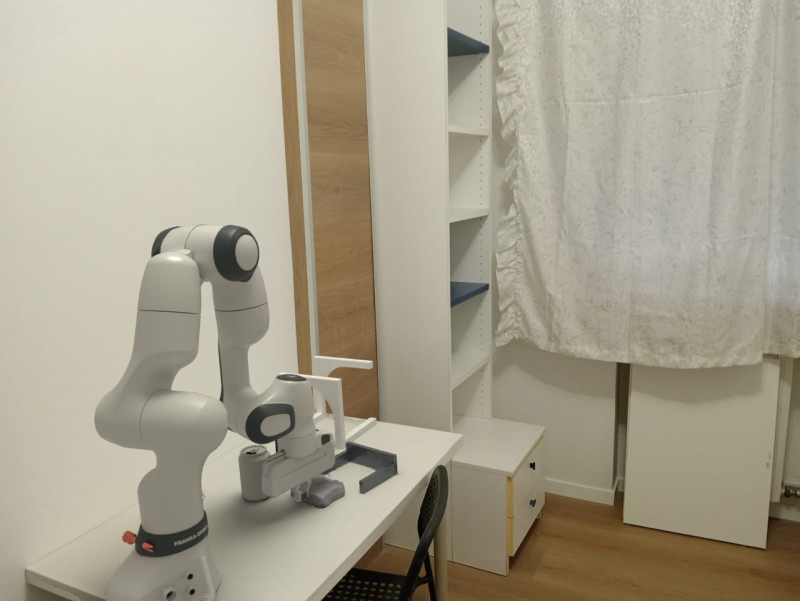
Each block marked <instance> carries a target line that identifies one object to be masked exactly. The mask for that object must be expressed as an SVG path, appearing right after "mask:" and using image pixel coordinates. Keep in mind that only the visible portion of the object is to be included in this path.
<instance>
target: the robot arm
mask: <svg viewBox="0 0 800 601" xmlns="http://www.w3.org/2000/svg"><path fill="white" fill-rule="evenodd" d="M150 255H151V256H150V259H149V260H148V261H147V263H146V265H145V269H144V272H143V275H142V278H141V283H140V288H139V293H138V298H137V299H138V300H137V308H136V319H135V320H136V321H135V328H134V339H133V347H132V350H131V356H130V358H129V362H128V365H127V367H126V369H125V372H124V373H123V375H122V377H121V378H120V380H119V381H118V383H117V384H116V385H115V386H114V387H113V388H112V389H111V390H110V391H108V392H107V393H105V394H104V395H103V396H102V397H101V399H100V401H98V404H97V405H96V408H95V411H94V420H93V421H94V422H93V423H94V426H95V431H96V433H97V434H98V436H99V437H100V438H101V439H103V440H104V441H107V442H109V443H112V444H114V445H116V446H119V447H122V448H127V449H134V450H144V451H151V452H153V453H154V455H155V457H156V459H155V460H156V463H155V467H154V468H153V469H151V470H149V471H148V472H147V473H146V474H145V475H144V476H143V477H142V478H141V480H140V482H139V483H138V486H137V491H136V493H137V499H138V508H139V514H140V515H139V516H140V521H141V523H140V525H139V528H138V532H137V534H136V533H133V532H132V531H131V530H126V531H125V532H123V534H122V537H121V540H122V542H123V543H126V544H128V546H129V545H130V546H131V545H134V548H133V550H132V551H131V552H130V553H129V554H128V556H127V557H126V558H125V559H124V561H123V562H122V563H121V564H120V566H119V567H118V568H117V569H116V571H115V572H114V573H113V574H112V575H111V577H110V578H109V579H108V581H107V584H106V590H105V601H216V600H217V594H216V593H217V591H218V589H219V588H220V584H221V580H222V579H221V578H222V577H221V575H220V573H219V571H218V568H217V567H216V564H215V561H214V558H213V554H212V550H211V547H210V543H209V538H208V536H209V531H210V530H209V522H208V515H207V512H206V509H204V499H203V498H202V490H203V485H202V484H203V483H202V477H203V469H204V465H205V463H206V461H207V459H208V457H210V455H211V454H212V453H213V452H215V451H216V450H217V449H218V448H219V447H220V446H221V445H222V443H223V442H224V440H225V438H226V435H227V434H228V431H230V432H233V433H234V434H235V433H236V434H238V435H239V436H241V437H243V438H245V439H246V440H248V441H250V442H251V443H253V444H255V445H267V444H270V443H273V442H275V440H277V443H278V452H276V451H275V453H274V454H270V456H268V457H267V458H266V460H265V461H264V463H263V465H262V492H263V493H264V494H265V495H267V496H269V497H270V498H272V499H275V498H277V497H279V496H281V495H283V494H285V493H287V492H288V491H291V490H292V492H293V493H294V496H295V497H294V500H295V501H296V502H298V503H300V502H303V501H302V500H304V499H305V498H307V497H309V493H308V490H309V488H310V485H311V482H312V481H311V478H313V477H315V476H317V475H319V474H321V473H322V472H324V471H326V470H328V469H330V468H332V467H333V466H334V463H335V455H336V452H335V444H334V443H333V439H334V438H333V437H334V436H333V433H332V432H331V431H328V430H325V429H321V428H316V424H314V421H313V415H314V414H315V405H314V403H315V402H314V396H313V391H312V387H311V386H310V383H309V381H308V380H307V379H306V378H304V377H302V376H299V375H294V374H295V373H294V374H282V375H279V376H278V375H277V376H275V378H274V380H273V381H272V383H271V384H270V385H269V386H268V387H267V388H266V389H265V390H264V391H263V392H262V393H260V394H258V393H257V392H256V391H255V390H254V388H253V386H252V385H251V382H250V371H249V370H250V368H249V355H248V354H249V349H251V348H250V347H251V346H253V345H254V344H256V343H258V342H260V341H261V340H262V339H263V338H264V337H265V336H266V335H267V332H268V331H269V329H270V307H269V299H268V294H267V289H266V285H265V280H264V277H263V274H262V271H261V268H260V265H259V261H260V247H259V243H258V241H257V238H256V237H255V236H254V234H253V233H252V232H251V231H250V230H249V229H248V228H247V227H243V226H239V225H234V224H227V225H222V224H221V225H220V224H206V223H201V224H189V225H184V226H178V225H177V226H176V225H175V226H172V227H169V228H166V229H164V230H162V231H160V232H159V233H158V234H157V235H156V237H155V239H154V241H153V244H152V248H151V253H150ZM205 282H206V283H208V282H209V283H210V284H211V289H212V292H211V293H212V300H213V301H212V303H213V309H214V315H215V321H216V328H217V349H218V350H217V353H218V363H219V364H218V365H219V374H220V384H221V385H220V387H221V388H220V394H219V399H218V398H215V397H212V396H209V395H207V394H205V393H199V392H197V391H196V392H195V391H187V390H186V391H184V390H172V387H173V384H174V383H173V382H174V380H175V378H176V377H177V374H179V372H180V371H181V370H182V369H183V368H185V367H187V366H188V365H190V364H192V363H193V362H194V360H195V359H196V358H197V356H198V353H199V348H200V347H199V345H200V343H199V342H200V334H201V333H200V332H201V331H200V330H201V318H202V317H201V316H202V286H203V283H205ZM300 484H302V487H301V490H299V488H300ZM269 497H268V498H269Z"/></svg>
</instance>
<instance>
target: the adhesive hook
mask: <svg viewBox="0 0 800 601" xmlns="http://www.w3.org/2000/svg"><path fill="white" fill-rule="evenodd" d="M205 492H206V490H204V489H202V498H203V500H204V499H205V498H206V495H205Z"/></svg>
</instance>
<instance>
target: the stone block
mask: <svg viewBox="0 0 800 601" xmlns="http://www.w3.org/2000/svg"><path fill="white" fill-rule="evenodd" d="M311 481H312V482H311V485H310V488H309V490H308V493H309V497H307V498H305V499H304V500H302V501H301V502H305V503H307V504H310V505H312V506H314V507H317V508H326V507H327V506H329V505H331V504H332V503H333V502H335V501H338V500H340V499H341V498H344V495H345V492H346V489H345V484H344V482H343V481H340V480H338V479H333V478H330V477H327V476H325V475H324V476H323V475H321V474H319V475H317V476H315V477H313V478H311ZM301 487H302V484H300V488H299V490H301ZM290 495H291V497H293V498H295V496H294V493H293V492H292V490H290Z"/></svg>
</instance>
